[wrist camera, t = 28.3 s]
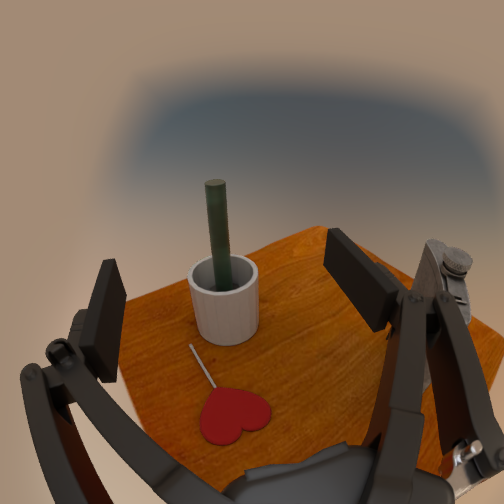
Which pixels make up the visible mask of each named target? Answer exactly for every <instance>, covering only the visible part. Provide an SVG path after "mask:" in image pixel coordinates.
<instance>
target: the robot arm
mask: <svg viewBox="0 0 504 504" xmlns="http://www.w3.org/2000/svg"><path fill="white" fill-rule="evenodd" d="M323 265H324V267H325V268H326V269H327V270H328V272H329V273H330V274H331V276H332V277H333V278H334V280H335V281H336V282H337V284H338V285H339V286H340V288H341V289H342V290H343V292H344V293H345V294H346V296H347V297H348V298H349V300H350V301H351V302H352V304H353V305H354V306H355V308H356V309H357V310H358V312H359V313H360V314H361V316H362V317H363V319H364V320H365V321H366V323H367V324H368V325H369V327H370V328H371V330H372V331H373V332H374V333H375V332H378V331H380V330H383V329H385V327H386V325H387V322H388V321H389V323H390V324H391V325H392V326H391V328H390V331H389V333H388V335H387V338H386V340H388V345H387V351H386V356H385V362H384V367H383V372H382V377H381V381H380V386H379V390H378V394H377V399H376V403H375V407H374V411H373V414H372V418H371V422H370V425H369V429H368V432H367V434H366V437H365V439H364V441H363V443H362V445H361V446H360V445H347V443H346V441H344V442H342V443H339V444H336V445H333V446H331V447H328V448H325V449H322V450H321V451H319V452H318V453H316V454H314V455H313V456H311V457H309V458H308V459H306V460H304V461H303V462H301V463H295V464H270V465H266V466H262V467H257V468H252V469H248V470H244V471H245V475H243V476H240V477H238V478H237V479H235V480H234V481H232V482H231V483H230V484H228V485H227V486H226V487H225V488H224V490H223V491H222V492H221V493H220V492H219V491H217V490H216V489H214V488H213V487H212V486H210V485H209V484H207V483H206V482H205V481H203V480H202V479H200V478H199V477H198V476H196V475H195V474H194V473H193V472H191V471H190V470H189V469H187V468H186V467H185V466H183V465H182V464H180V463H179V462H177V461H176V460H175V459H174V458H173V457H171V456H170V455H169V454H168V453H167V452H166V451H165V450H163V449H162V448H161V447H160V446H159V445H158V444H157V443H156V442H155V441H153V440H152V439H151V438H150V437H149V436H148V435H147V434H146V433H145V432H144V431H143V430H142V429H141V428H140V427H139V426H138V425H137V424H136V423H135V422H134V421H133V420H132V419H131V418H130V417H129V416H128V415H127V414H126V413H125V412H124V411H123V410H122V409H121V408H120V406H119V405H118V404H117V403H116V402H115V401H114V400H113V399H112V398H111V396H110V395H109V394H108V393H107V392H106V391H105V390H104V389H103V387H102V386H101V385H100V384H99V382H98V381H97V378H99V379H100V380H101V382H102V383H114V382H116V381H117V368H118V357H119V348H120V339H121V331H122V323H123V316H124V309H125V303H126V296H127V294H126V292H125V289H124V286H123V283H122V280H121V277H120V273H119V270H118V267H117V264H116V261H115V259H108V260H103V262H102V265H101V268H100V271H99V274H98V277H97V280H96V283H95V286H94V290H93V293H92V296H91V299H90V303H89V306H88V309H81V310H79V311H78V312H77V313H76V315H75V316H74V318H73V322H72V326H71V328H70V332H69V336H68V339H67V340H66V339H63V338H59V339H56V340H54V341H52V342H51V343H50V344H49V345H48V347H47V348H46V353H45V354H46V357H47V359H48V360H49V361H50V363H51V364H52V365H51V366H48V367H45V368H42V369H41V368H40V366H39V365H38V364H36V363H31V364H28V365H27V366H25V367H24V368H23V370H22V371H21V374H20V381H21V388H22V394H23V400H24V405H25V410H26V415H27V419H28V424H29V428H30V432H31V435H32V439H33V443H34V446H35V450H36V453H37V456H38V459H39V463H40V466H41V468H42V471H43V474H44V477H45V480H46V482H47V485H48V487H49V490H50V492H51V494H52V497H53V499H54V501H55V504H114V503H113V502H112V500H111V499H110V496H109V495H108V493H107V491H106V490H105V488H104V486H103V484H102V482H101V480H100V478H99V476H98V474H97V472H96V470H95V468H94V466H93V464H92V462H91V460H90V458H89V456H88V453H87V451H86V449H85V447H84V445H83V442H82V440H81V437H80V435H79V432H78V430H77V427H76V425H75V422H74V419H73V417H72V414H71V411H70V408H69V405H68V404H71V403H74V402H77V403H78V405H79V406H80V408H81V409H82V410H83V412H84V413H85V415H86V416H87V417H88V419H89V420H90V421H91V422H92V424H93V425H94V426H95V427H96V429H97V430H98V431H99V433H100V434H101V435H102V436H103V437H104V439H105V440H106V441H107V442H108V443H109V444H110V446H111V447H112V448H113V449H114V450H115V451H116V452H117V454H118V455H119V456H120V457H121V458H122V459H123V460H124V461H125V462H126V463H127V464H128V465H129V466H130V467H131V468H132V469H133V470H134V471H135V472H136V473H137V474H138V475H139V476H140V477H141V478H142V479H143V480H144V481H145V482H146V483H147V484H148V485H149V486H150V487H151V488H152V490H153V491H154V492H155V493H156V494H157V495H158V496H159V497H160V498H161V499H162V500H164V501H165V502H166V503H167V504H455V500H456V499H458V498H459V497H461V496H462V495H464V494H465V493H467V492H468V491H469V490H471V489H472V488H474V487H475V486H476V485H478V484H480V483H482V482H484V481H486V480H487V479H489V478H491V477H493V476H494V475H496V474H498V473H499V472H501V471H502V470H504V434H503V432H502V430H501V428H500V427H499V424H498V422H497V421H496V419H495V417H494V413H493V409H492V405H491V401H490V396H489V392H488V389H487V385H486V381H485V378H484V374H483V371H482V368H481V365H480V362H479V359H478V356H477V353H476V350H475V347H474V344H473V341H472V339H471V336H470V333H469V331H468V328H467V325H466V323H465V320H464V318H463V316H462V313H461V311H460V308H459V306H458V304H457V302H456V299H455V297H454V296H453V295H452V294H451V293H450V292H448V291H446V290H438V291H437V292H436V294H435V296H434V297H424V296H423V295H422V294H421V293H420V292H417V291H415V290H408V289H407V288H406V287H405V286H404V285H403V284H402V283H401V282H400V281H399V280H398V279H397V278H396V277H394V275H393V274H392V273H390V271H389V270H388V269H387V268H386V267H385V266H383V265H382V264H380V263H378V262H377V263H374V262H373V261H372V260H371V259H370V258H369V257H368V256H367V255H366V254H365V253H364V252H363V251H362V250H361V249H360V248H359V247H358V246H357V245H356V244H355V243H354V242H353V241H352V240H351V239H349V238H348V237H347V236H346V235H345V234H344V233H343V232H342V231H341V230H340V229H339V228H332V229H328V233H327V241H326V249H325V256H324V263H323ZM388 338H389V339H388ZM425 352H426V357H427V361H428V366H429V371H430V376H431V382H432V387H433V393H434V399H435V406H436V413H437V421H438V430H439V439H440V446H441V450H442V454H443V458H442V460H441V464H440V466H439V468H438V471H439V473H440V474H441V477H440V476H437V475H434V474H431V473H429V472H426V471H423V470H421V469H418V468H416V464H417V459H418V454H419V449H420V444H421V439H422V433H423V427H424V414H421V412H420V409H421V401H422V392H423V382H424V369H425Z"/></svg>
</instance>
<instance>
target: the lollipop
mask: <svg viewBox="0 0 504 504" xmlns="http://www.w3.org/2000/svg"><path fill="white" fill-rule="evenodd" d="M189 346H190V348H191V350H192V351H193V353H194V355H195V357H196V358H197V360H198V362H199V364H200V365H201V367H202V369H203V370H204V372H205V374H206V376H207V377H208V379H209V381H210V382H211V384H212V386H213V387H214V390H213V391H212V393H211V394H210V396H209V397H208V399H207V401H206V403H205V405H204V407H203V410H202V412H201V416H200V430H201V433H202V435H203V436H204V438H205V439H206V440H207V441H209V442H210V443H212V444H216V445H228V444H231V443H233V442H235V441H236V440H237V439H238V438H239V437H240V435H241V433H242V429H243V430H246V431H255V430H259V429H261V428H263V427H264V426H266V425H267V424H268V422H269V420H270V418H271V408H270V406H269V404H268V403H267V402H266V400H264V399H263V398H262V397H260V396H258V395H256V394H254V393H251V392H248V391H244V390H239V389H233V388H223V387H216V385H215V383H214V382H213V380H212V378H211V377H210V375H209V373H208V372H207V370H206V368H205V367H204V365H203V363H202V362H201V360H200V358H199V357H198V355H197V353H196V351H195V350H194V348H193V346H192V344H190V345H189Z"/></svg>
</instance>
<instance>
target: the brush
mask: <svg viewBox="0 0 504 504" xmlns="http://www.w3.org/2000/svg"><path fill="white" fill-rule="evenodd" d="M205 193H206V203H207V213H208V223H209V233H210V242H211V250H212V260H213V269H214V277H215V285H214V286H212V287H211V288H210V289H209V290H208V291H213V292H227V291H231V290H236V289H238V288H240V286H239V285H237V284H234V283H232V270H231V257H230V244H229V230H228V215H227V200H226V185H225V181H224V180H220V179H214V180H209V181H207V182H205Z"/></svg>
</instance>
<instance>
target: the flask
mask: <svg viewBox="0 0 504 504" xmlns="http://www.w3.org/2000/svg"><path fill="white" fill-rule="evenodd" d="M472 262H473V261H472V258H471V257H470V255H469V254H467V253H466V252H465V251H463V250H461V249H459V248H455V247H447V245H445V244H444V243H443V242H441V241H440V240H437V239H428V240H427V241H426V244H425V248H424V251H423V254H422V257H421V260H420V264H419V267H418V270H417V273H416V276H415V279H414V282H413V284H412V287H411V290H415V291H417V292H420V293H421V294H422V295H423V296H424V297H434V296H435V294H436V292H437V291H438V290H446V291H448V292H450V293H451V294H452V295H453V296H454V297H455V299H456V302H457V304H458V306H459V308H460V311H461V313H462V316H463V318H464V320H465V323H466V325H467V327H468V325H469V323H470V321H471V307H470V300H469V294H468V290H467V286H466V283H465V280H464V278H465V276H466V274H467V271H468V270H470V268H471V265H472ZM430 383H431V376H430V371H429V366H428V361H427V357H426V352H425V369H424V382H423V392H424V391H425V390H426V388H427V387H428V386H429V384H430ZM423 392H422V394H423Z"/></svg>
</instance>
